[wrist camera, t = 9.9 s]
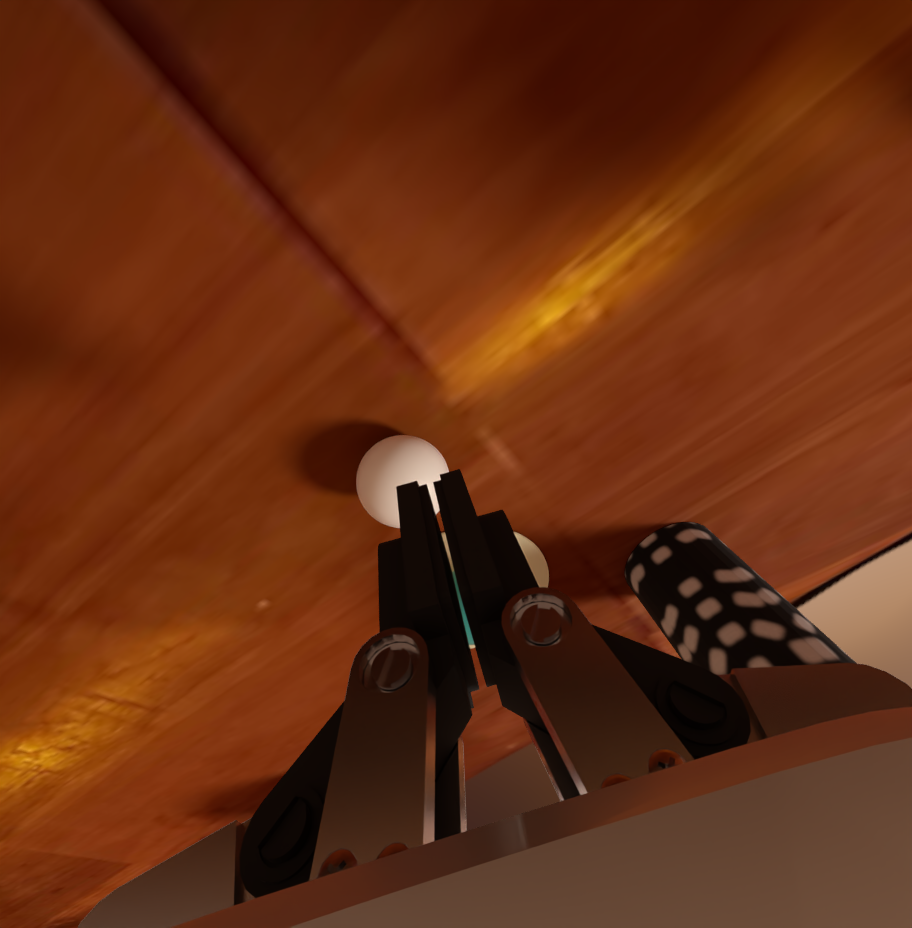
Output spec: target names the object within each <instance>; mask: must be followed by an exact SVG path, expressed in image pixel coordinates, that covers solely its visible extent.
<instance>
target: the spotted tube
mask: <svg viewBox="0 0 912 928" xmlns="http://www.w3.org/2000/svg"><path fill="white" fill-rule="evenodd" d="M625 579H626V581H627V583H628V585H629V586H630V588H631V589H632V590H633V592H634V593H635V595H636V596H637V597H638V599H639V600H640V602H641V603H642V604H643V606H644V607H645V608H646V610H647V611H648V613H649V614H650V615H651V617H652V618H653V620H654V621H655V622H656V624H657V625H658V627H659V628H660V629H661V631H662V632H663V634H664V635H665V636H666V638H667V639H668V641H669V642H670V643H671V645H672V646H673V648H674V649H675V650H676V652H677V653H678V655H679V656H680V657H681V659H682V660H684V661H687V662H689V663H692V664H695V665H697V666H700V667H702V668H704V669H706V670H708V671H710V672H712V673H714V674H716V675H725V674H731V670H732V669H736V668H755V667H775V666H795V665H815V664H835V663H854V664H857V663H856V662H855V661H854V660H853V659H851V658H850V657H849V656H848V655H847V654H846V653H845V652H844V651H843V650H841V649H840V648H839V647H838V646H837V645H836V644H835V643H834V642H833V641H831V640H830V639H829V638H828V637H827V636H826V635H825V634H824V633H822V632H821V631H820V630H819V629H818V628H817V627H816V626H815V625H814V624H813V623H811V622H810V621H809V620H808V619H807V618H806V617H805V616H804V615H803V614H801V613H800V612H799V611H798V610H797V609H796V608H795V607H794V606H793V605H791V604H790V603H789V602H788V601H787V600H786V599H785V598H784V597H783V596H781V595H780V594H779V593H778V592H777V591H776V590H775V589H774V588H773V587H771V586H770V585H769V584H768V583H767V582H766V581H765V580H764V579H763V578H761V577H760V576H759V575H758V574H757V573H756V572H755V571H754V570H753V569H752V568H750V567H749V566H748V565H747V564H746V563H745V562H744V561H743V560H742V559H740V558H739V557H738V556H737V555H736V554H735V553H734V552H733V551H732V550H730V549H729V548H728V547H727V546H726V545H725V544H724V543H723V542H722V541H720V540H719V539H718V538H717V537H716V536H715V535H714V534H713V533H712V532H710V531H709V530H708V529H707V528H706V527H705V526H703V525H700V524H698V523H692V522H682V523H677V524H672V525H670V526H667V527H664V528H662V529H660V530H658V531H656V532H654V533H653V534H651V535H650V536H648V537H647V538H646V539H644V540H643V541H642V542H641V543H640V544H639V545H638V546H637V547H636V548H635V550H634V551H633V552H632V554H631V555H630V557H629V559H628V561H627V564H626V567H625Z"/></svg>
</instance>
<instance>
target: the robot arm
mask: <svg viewBox="0 0 912 928" xmlns="http://www.w3.org/2000/svg"><path fill="white" fill-rule="evenodd" d="M440 478H441V480H439V481H435V482H433V484H434V489H435V493H436V497H437V501H438V505H439V509H440V514H441V518H442V522H443V526H444V530H445V534H446V539H447V543H448V547H449V551H450V555H451V559H452V563H453V568H454V572H455V576H456V580H457V584H458V588H459V592H460V596H461V600H462V603H463V607H464V610H465V614H466V617H467V621H468V624H469V628H470V631H471V634H472V638H473V641H474V645H475V648H476V651H477V655H478V658H479V662H480V665H481V669H482V672H483V675H484V679H485V682H486V686H487V687H489V686H492V685H495V684H497V688H498V692H499V695H500V699H501V702H502V706H504V707H505V708H507V709H509V710H511V711H512V712H514V713H516V714H518V715H519V716H521V717H523V720H524V723H525V726H526V728H527V730H528V732H529V734H530V737H531V739H532V741H533V743H534V745H535V747H536V749H537V751H538V753H539V756H540V758H541V760H542V762H543V764H544V766H545V768H546V771H547V773H548V775H549V777H550V779H551V781H552V784H553V786H554V788H555V790H556V792H557V794H558V797H559V798H560V802H557V803H554V804H551V805H548V806H544V807H541V808H538V809H535V810H532V811H529V812H525V813H522V814H519V815H516V816H513V817H510V818H507V819H503V820H500V821H497V822H494V823H490V824H487V825H485V826H481V827H478V828H475V829H472V830H468V831H467V827H466V802H465V777H464V752H463V740H462V732H463V730H464V729H465V727H466V725H467V723H468V722H469V720H470V718H471V716H472V711H471V708H474V707H473V702H472V697H471V693H470V692H472V691H475V690H479V686H478V681H477V677H476V672H475V668H474V664H473V660H472V655H471V651H470V647H469V642H468V638H467V634H466V630H465V625H464V621H463V617H462V612H461V608H460V604H459V600H458V595H457V591H456V587H455V582H454V578H453V574H452V570H451V566H450V562H449V558H448V555H447V552H446V548H445V545H444V541H443V538H442V535H441V531H440V528H439V524H438V521H437V517H436V514H435V511H434V507H433V504H432V500H431V497H430V494H429V490H428V487H427V484H424V485H421V486H419V484H418V482H417V481H414V482H410V483H407V484H403V485H399V486H397V487H396V490H397V501H398V511H399V522H400V532H401V538H398V539H395V540H391V541H388V542H384V543H380V544H379V546H378V572H379V622H380V633H378V634H376V635H375V636H373V637H371V638H370V639H369V640H368V641H367V642H366V643H365V644H364V645H363V646H362V647H361V649H360V650H359V652H358V653H357V655H356V656H355V658H354V661H353V664H352V667H351V671H350V676H349V681H348V686H347V691H346V696H345V701H344V702H343V703H342V705H341V706H340V707H339V708H338V709H337V711H336V712H335V713H334V714H333V716H332V717H331V718H330V719H329V721H328V722H327V723H326V724H325V725H324V727H323V728H322V729H321V730H320V732H319V733H318V734H317V735H316V737H315V738H314V739H313V740H312V741H311V743H310V744H309V745H308V746H307V748H306V749H305V750H304V751H303V753H302V754H301V755H300V756H299V758H298V759H297V760H296V761H295V762H294V764H293V765H292V766H291V767H290V769H289V770H288V771H287V772H286V774H285V775H284V776H283V777H282V778H281V780H280V781H279V782H278V783H277V785H276V786H275V787H274V788H273V790H272V791H271V792H270V793H269V794H268V796H267V797H266V798H265V799H264V801H263V802H262V803H261V805H260V806H259V808H258V809H257V811H256V812H255V814H254V815H253V817H252V818H250V819H249V820H247V821H245V822H244V823H242V824H241V823H240V822H238V821H237V820H235V821H234V822H232V823H230V824H228V825H227V826H225V827H223V828H221V829H220V830H218V831H216V832H214V833H213V834H211V835H209V836H207V837H206V838H204V839H202V840H200V841H199V842H197V843H195V844H193V845H192V846H190V847H188V848H186V849H185V850H183V851H181V852H180V853H178V854H176V855H174V856H173V857H171V858H169V859H167V860H166V861H164V862H162V863H160V864H159V865H157V866H155V867H153V868H152V869H150V870H148V871H146V872H145V873H143V874H141V875H139V876H138V877H136V878H134V879H132V880H131V881H129V882H127V883H125V884H124V885H122V886H120V887H119V888H117V889H115V890H114V891H113V892H111V893H110V894H109V895H108V896H106V897H105V898H104V899H102V900H101V901H100V902H98V904H97V905H96V906H95V907H94V908H93V909H92V910H91V912H90V913H89V914H88V915H87V916H86V917H85V918H84V919H83V921H82V922H81V923H80V925H79V926H78V928H912V689H911V687H909V686H908V685H907V684H906V683H904V682H903V681H901V680H899V679H898V678H896V677H894V676H892V675H891V674H889V673H887V672H885V671H882V670H880V669H877V668H874V667H871V666H868V665H864V664H854V663H835V664H815V665H795V666H775V667H755V668H736V669H732V670H731V674H725V675H716V674H714V673H712V672H710V671H708V670H706V669H704V668H702V667H700V666H697V665H695V664H692V663H689V662H687V661H684V660H682V659H679V658H677V657H674V656H671V655H669V654H666V653H664V652H661V651H659V650H656V649H653V648H651V647H648V646H646V645H643V644H641V643H638V642H635V641H633V640H630V639H628V638H625V637H623V636H620V635H617V634H615V633H612V632H610V631H607V630H605V629H602V628H599V627H597V626H594V625H592V624H591V623H590V622H589V621H588V619H587V618H586V617H585V616H584V614H583V613H582V612H581V610H580V609H579V608H578V606H577V605H576V604H575V603H574V602H573V601H572V600H571V599H570V598H569V597H568V596H567V595H565V594H564V593H562V592H560V591H558V590H555V589H551V588H546V587H539V586H538V583H537V581H536V579H535V577H534V575H533V573H532V571H531V568H530V566H529V564H528V562H527V560H526V558H525V555H524V553H523V551H522V549H521V547H520V545H519V543H518V540H517V538H516V536H515V534H514V532H513V530H512V528H511V525H510V523H509V521H508V519H507V517H506V515H505V513H504V511H503V510H499V511H496V512H492V513H488V514H485V515H481V516H478V517H477V515H476V512H475V509H474V506H473V504H472V501H471V498H470V495H469V493H468V490H467V487H466V484H465V482H464V479H463V476H462V473H461V471H460V469H458V470H455V471H451V472H447V473H444V474H440Z"/></svg>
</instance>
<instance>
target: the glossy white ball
mask: <svg viewBox="0 0 912 928" xmlns="http://www.w3.org/2000/svg"><path fill="white" fill-rule="evenodd" d="M447 472H449V470H448V467H447V464H446V462H445V460H444V458H443V456H442V455H441V453H440V452H439V451H438V450H437V449H436V448H435V447H434V446H433V445H431V444H430V443H429V442H427V441H425V440H423V439H421V438H418V437H415V436H409V435H396V436H392V437H388V438H385V439H383V440H381V441H380V442H378V443H376V444H375V445H374V446H372V447H371V448H370V449H369V450H368V451H367V452H366V454H365V455H364V457H363V458H362V460H361V462H360V464H359V467H358V471H357V476H356V487H357V493H358V496H359V499H360V501H361V503H362V505H363V507H364V508H365V510H366V511H367V512H368V513H369V514H370V515H371V516H372V517H373V518H374V519H376V520H377V521H379V522H381V523H382V524H385V525H387V526H391V527H395V528H400V522H399V511H398V501H397V490H396V487H397V486H399V485H403V484H407V483H410V482H414V481H417V482H418V484H419V486H421V485H424V484H427V487H428V490H429V494H430V497H431V500H432V504H433V507H434V511H435V514H437V513H438V512H439V510H440V509H439V505H438V501H437V497H436V493H435V489H434V484H433V482H435V481H439V480H441V478H440V474H444V473H447Z"/></svg>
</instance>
